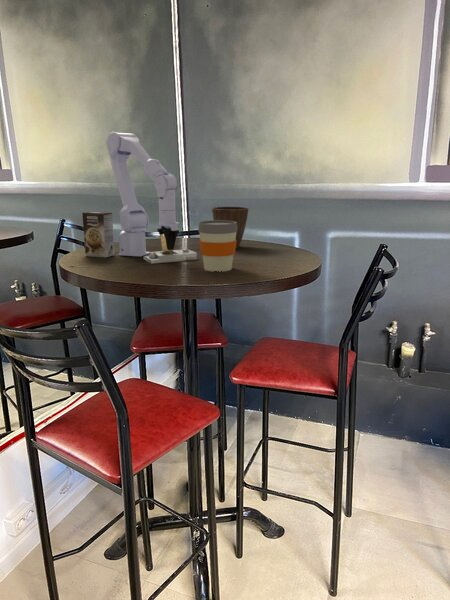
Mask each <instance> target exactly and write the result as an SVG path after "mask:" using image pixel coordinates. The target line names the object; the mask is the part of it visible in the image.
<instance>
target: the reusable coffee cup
mask: <svg viewBox="0 0 450 600" xmlns="http://www.w3.org/2000/svg"><path fill="white" fill-rule="evenodd" d="M197 228H198V229H197V231H198V233H199V240H198V242H199V249H200V254H201V255H202V262H203V269H204V271H207V272H214V271H217V272H218V271H219V273H220V272H221V271H222V272H228V271H231V270H232V269H233V263H234V262H233V261H234V255H235V254H236V249H237V248H236V241H237V240H236V232H237V222H234V221H224V220H204V221H203V220H202V221H199V222H198V227H197Z"/></svg>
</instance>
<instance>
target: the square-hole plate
mask: <svg viewBox="0 0 450 600" xmlns="http://www.w3.org/2000/svg"><path fill="white" fill-rule="evenodd" d="M148 252H149V254H148V255H144V256H143V260H145V262H147V263H149V264H152V265H153V264H163V263H175V262H184V261H197V260H198V252H196V251H194V250H191V249H189V248H182V249H174V250H173V254H167V255H164V254H162V250H161V251H148Z"/></svg>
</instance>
